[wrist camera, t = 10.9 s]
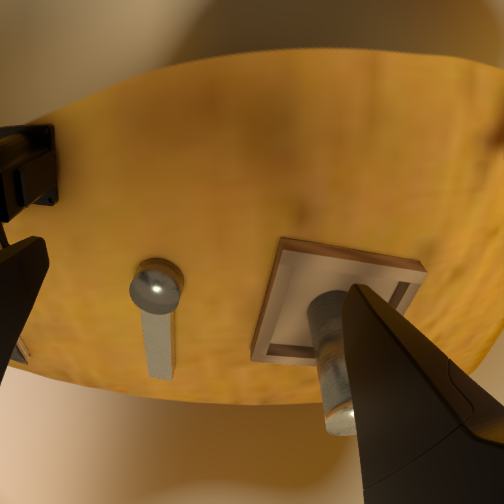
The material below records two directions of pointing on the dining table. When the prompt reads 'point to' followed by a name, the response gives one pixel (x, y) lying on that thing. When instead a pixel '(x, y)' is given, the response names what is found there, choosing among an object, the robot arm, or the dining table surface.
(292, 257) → the taupe tray
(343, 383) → the polished metal cylinder
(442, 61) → the dining table surface
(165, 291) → the grey ratchet handle
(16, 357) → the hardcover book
